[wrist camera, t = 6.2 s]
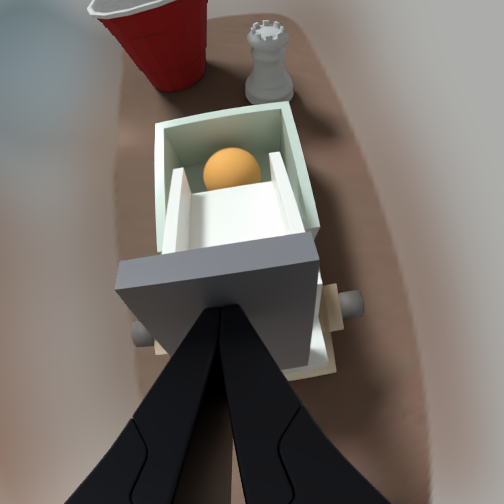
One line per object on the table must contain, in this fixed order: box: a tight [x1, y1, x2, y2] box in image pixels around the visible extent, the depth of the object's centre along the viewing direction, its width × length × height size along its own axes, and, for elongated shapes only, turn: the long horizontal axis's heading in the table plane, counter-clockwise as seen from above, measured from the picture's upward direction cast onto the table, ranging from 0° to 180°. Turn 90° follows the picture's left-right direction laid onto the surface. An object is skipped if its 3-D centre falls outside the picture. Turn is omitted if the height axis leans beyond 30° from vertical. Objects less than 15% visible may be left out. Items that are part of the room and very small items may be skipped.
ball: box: [204, 147, 261, 191], centre depth 22 cm, size 4×4×4 cm
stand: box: [131, 267, 364, 381], centre depth 17 cm, size 8×10×9 cm
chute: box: [115, 152, 329, 374], centre depth 13 cm, size 11×6×7 cm, turn 7°
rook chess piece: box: [245, 20, 294, 105], centre depth 23 cm, size 4×4×8 cm
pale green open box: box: [155, 101, 320, 254], centre depth 21 cm, size 9×9×6 cm
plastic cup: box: [87, 0, 208, 92], centre depth 22 cm, size 11×11×12 cm
